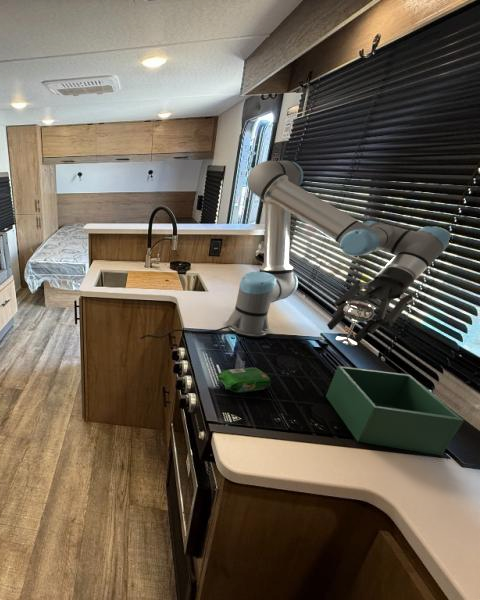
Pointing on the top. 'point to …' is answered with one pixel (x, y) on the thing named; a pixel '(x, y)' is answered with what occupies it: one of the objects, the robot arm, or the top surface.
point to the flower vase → (260, 248)
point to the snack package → (244, 380)
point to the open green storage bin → (392, 410)
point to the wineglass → (356, 316)
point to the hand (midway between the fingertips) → (342, 333)
